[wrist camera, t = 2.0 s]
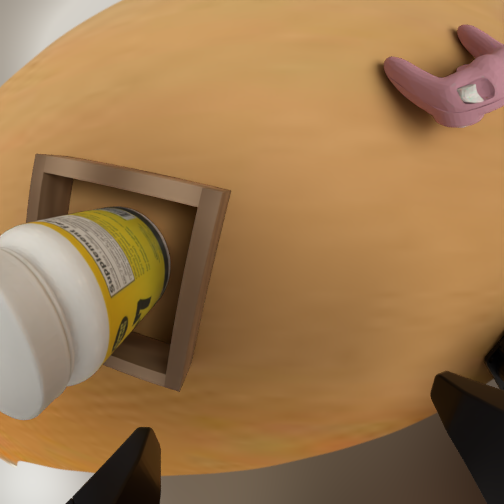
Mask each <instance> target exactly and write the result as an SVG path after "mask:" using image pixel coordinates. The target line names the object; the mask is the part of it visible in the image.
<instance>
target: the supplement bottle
mask: <svg viewBox="0 0 504 504" xmlns="http://www.w3.org/2000/svg"><path fill="white" fill-rule="evenodd" d="M170 267H171V266H170V255H169V251H168V247H167V244H166V242H165V240H164V238H163V236H162V234H161V232H160V231H159V230H158V228H157V227H156V226H155V225H154V223H152V222H151V221H150V220H149V219H148V218H147V217H146V216H144V215H143V214H141V213H139V212H137V211H135V210H133V209H130V208H126V207H106V208H101V209H95V210H89V211H83V212H78V213H73V214H68V215H63V216H58V217H53V218H49V219H44V220H39V221H35V222H30V223H25V224H22V225H18V226H16V227H13V228H11V229H9V230H7V231H6V232H4V233H3V234H2V235H1V236H0V411H1V412H2V413H4V414H6V415H8V416H10V417H12V418H15V419H20V420H29V419H33V418H35V417H37V416H38V415H39V414H40V413H41V412H42V411H43V410H44V409H45V408H46V407H47V406H48V405H49V404H50V403H51V402H52V401H53V400H54V399H55V398H57V397H58V396H59V395H61V394H62V393H63V391H64V390H65V388H66V386H72V385H76V384H79V383H81V382H83V381H85V380H87V379H88V378H89V377H91V376H92V375H93V374H94V373H95V372H97V370H98V369H99V368H100V367H101V366H102V365H103V363H104V362H105V361H106V360H107V359H108V358H109V356H110V355H111V354H112V353H113V352H114V350H115V349H116V348H117V347H118V346H119V345H120V344H121V343H122V342H123V340H124V339H125V338H126V337H127V336H128V335H129V333H130V332H131V331H132V330H133V329H134V328H135V326H136V325H137V324H138V323H139V322H140V321H141V320H142V318H143V317H144V316H145V315H146V314H147V313H148V312H149V311H150V309H151V308H152V307H153V306H154V305H155V304H156V302H157V301H158V300H159V299H160V297H161V296H162V295H163V293H164V291H165V289H166V287H167V284H168V281H169V277H170Z"/></svg>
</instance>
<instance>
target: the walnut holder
mask: <svg viewBox="0 0 504 504" xmlns="http://www.w3.org/2000/svg"><path fill="white" fill-rule="evenodd" d="M73 178H74V179H79V180H83V181H88V182H92V183H97V184H101V185H106V186H110V187H115V188H119V189H123V190H128V191H132V192H136V193H141V194H145V195H149V196H154V197H158V198H162V199H166V200H170V201H174V202H178V203H183V204H187V205H191V206H195V207H198V209H197V213H196V218H195V222H194V227H193V231H192V236H191V240H190V245H189V249H188V254H187V259H186V264H185V269H184V274H183V279H182V284H181V289H180V294H179V299H178V305H177V310H176V316H175V321H174V327H173V333H172V339H171V344H168V343H165V342H162V341H158V340H155V339H152V338H149V337H146V336H143V335H140V334H137V333H135V332H132V331H131V332H130V333H129V335H128V336H127V337H126V338H125V339H124V340H123V342H122V343H121V344H120V345H119V346H118V347H117V348H116V349H115V350H114V352H113V353H112V354H111V355H110V356H109V358H108V359H107V360H106V361H105V362H104V363H103V365H105V366H108V367H110V368H113V369H115V370H118V371H120V372H123V373H126V374H128V375H131V376H134V377H136V378H139V379H142V380H145V381H148V382H151V383H154V384H157V385H160V386H163V387H166V388H169V389H172V390H176V391H179V392H180V390H181V387H182V385H183V382H184V380H185V378H186V375H187V373H188V370H189V368H190V365H191V363H192V359H193V354H194V349H195V344H196V339H197V335H198V330H199V325H200V321H201V316H202V311H203V307H204V302H205V298H206V293H207V289H208V285H209V280H210V276H211V272H212V267H213V263H214V259H215V254H216V250H217V246H218V242H219V238H220V233H221V229H222V225H223V221H224V217H225V213H226V209H227V205H228V201H229V197H230V193H231V191H230V190H226V189H222V188H218V187H213V186H209V185H205V184H201V183H197V182H192V181H188V180H184V179H179V178H175V177H170V176H166V175H161V174H156V173H152V172H147V171H142V170H137V169H133V168H128V167H123V166H117V165H112V164H107V163H102V162H97V161H91V160H86V159H80V158H74V157H68V156H58V155H46V154H36V155H35V161H34V166H33V172H32V178H31V185H30V192H29V200H28V209H27V220H26V223H30V222H35V221H39V220H44V219H49V218H53V217H58V216H63V215H68V208H69V201H70V195H71V189H72V183H73Z"/></svg>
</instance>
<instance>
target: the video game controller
mask: <svg viewBox="0 0 504 504" xmlns="http://www.w3.org/2000/svg"><path fill="white" fill-rule="evenodd" d="M457 33H458V37H459V39H460V41H461V43H462V44H463V46H464V47H465V48H466V49H467V50H468V51H469V52H470V53H471V55H473V56H474V57H475V58H476V59H475V60H473V61H472V62H471V63H470V64H465V65H462V66H460V67H458V68H457V69H456V71H457V72H456V73H453V74H451V75H449V76H447V77H443V78H439V77H436V76H433V75H431V74H429V73H428V72H426V71H424V70H422V69H420V68H418V67H416V66H415V65H413V64H411V63H410V62H408V61H406V60H404V59H402V58H397V57H389V58H387V59H386V60H385V62H384V71H385V73H386V75H387V77H388V78H389V80H390V81H391V82H392V84H393V85H394V86H395V87H396V88H397V89H398V90H399V91H400V92H401V93H402V94H403V95H404V96H405V97H406V98H407V99H409V100H410V101H411V102H413V103H414V104H415V105H417V106H418V107H420V108H422V109H423V110H425V111H426V112H428V113H429V114H431V115H432V116H433V117H434V119H435V121H436V122H437V123H439V124H441V125H444V126H447V127H458V128H463V127H466V126H469V125H472V124H475V123H477V122H479V121H480V120H481V119H482V118H483V116H484V114H486V113H489V112H491V111H493V110H496V109H498V108H500V107H502V106H504V45H503V44H502V43H500V42H498V41H496V40H495V39H493V38H492V37H490V36H489V35H488V34H486V33H485V32H483V31H481V30H480V29H478V28H476V27H474V26H471V25H461V26H459V28H458V30H457Z"/></svg>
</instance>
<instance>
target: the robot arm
mask: <svg viewBox="0 0 504 504" xmlns="http://www.w3.org/2000/svg"><path fill="white" fill-rule="evenodd" d="M484 362H485V364H486V366H487V368H488V369H489V371H490V373H491V374H492V376H493V378H494V379H495V381H496V383H497V385H498V387H499V389H497V388H495V387H492V386H489V385H486V384H483V383H480V382H477V381H474V380H471V379H468V378H465V377H463V376H460V375H457V374H454V373H451V372H449V371H444V372H442V373H439V374H437V375H436V376H435V379H434V383H433V386H432V390H431V399H432V401H433V404H434V406H435V408H436V410H437V412H438V414H439V416H440V418H441V421H442V423H443V425H444V427H445V429H446V431H447V433H448V435H449V437H450V438H451V440H452V442H453V443H454V445H455V447H456V448H457V450H458V452H459V453H460V455H461V457H462V459H463V460H464V462H465V464H466V465H467V467H468V469H469V471H470V472H471V474H472V476H473V478H474V480H475V482H476V484H477V485H478V487H479V489H480V491H481V493H482V495H483V497H484V498H485V500H486V502H487V504H504V337H503V338H502V339H501V340H500V341H499V343H498V344H497V345H496V346H495V347H494V348H493V349H492V351H491V352H490V353H489V354H488V355H487V356H486V358H485V360H484ZM160 495H161V449H160V444H159V442H158V440H157V438H156V435H155V433H154V431H153V429H152V428H150V427H139V428H137V429H136V430H135V431H134V432H133V433H132V434H131V435H130V437H129V438H128V439H127V440H126V441H125V442H124V443H123V444H122V445H121V446H120V447H119V448H118V450H117V451H116V452H115V453H114V454H113V455H112V456H111V457H110V458H109V459H108V460H107V461H106V462H105V463H104V464H103V465H102V467H101V468H100V469H99V470H98V471H97V472H96V473H95V474H94V475H93V476H92V477H91V478H90V479H89V480H88V481H87V482H86V483H85V484H84V485H83V486H82V488H81V489H80V490H79V491H78V492H77V493H76V494H75V495H74V496H73V499H72V498H71V499H70V500H69V501H68V502H67V503H66V504H160Z"/></svg>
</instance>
